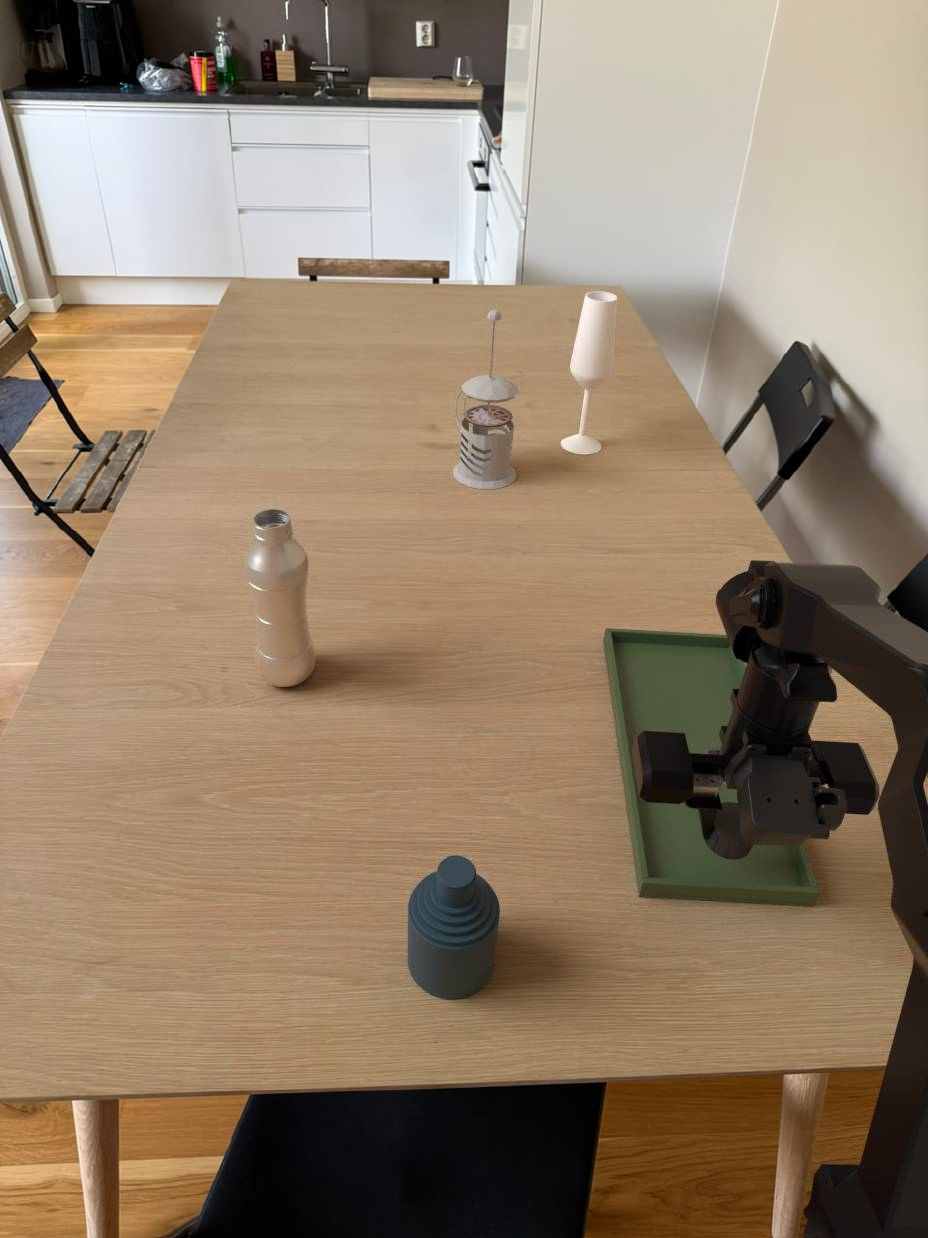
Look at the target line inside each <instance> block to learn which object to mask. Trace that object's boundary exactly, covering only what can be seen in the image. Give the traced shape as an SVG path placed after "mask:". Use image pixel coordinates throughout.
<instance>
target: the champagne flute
mask: <svg viewBox="0 0 928 1238" xmlns="http://www.w3.org/2000/svg"><path fill="white" fill-rule="evenodd" d="M582 304H583V305H582V307H581V313H580V318H579V322H578V326H577V331H576V336H575V340H574V345H573V348H572V349H573V350H572V354H571V359H570V364H569V371H570V374H571V375H572V378H573V379H574V381H576V382H577V383H578V384H579V386H580V387H581V388H583V389H584V392H583V393H584V395H583V401H582V408H581V415H580V422H579V423H580V424H579V429H578V430H579V431H578V433H576V434H572V435H569V436H567V437H565V438H563V439H562V440H561V441H560V445H561V447H562V449H563V450H565V451H567V452H569V453H572V454H575V455H582V456H583V455H584V456H585V455H587V456H588V455H594V454H596V453H598V452H600V451H601V450H602V444H601V443H600V442H599V441H598V440H596V439H595V438H593V437H591V436H590V435H588V434H587V432H588V423H589V418H590V411H591V402H592V396H593V390H596V389H597V388H599V387H600V386H602V385H603V384H605V383H606V382H607V381H608V380H609V379H610V378H611V376H612V375H613V373H614V368H615V349H616V334H617V333H616V331H617V312H618V295H616V294H614V293H612V292H609V291H603V290H602V291H600V290H595V291H594V290H593V291H588V292H586V293H585V294H584V298H583V303H582Z"/></svg>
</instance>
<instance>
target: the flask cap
mask: <svg viewBox="0 0 928 1238" xmlns="http://www.w3.org/2000/svg"><path fill="white" fill-rule="evenodd" d="M721 805H722V810H717V812H716V816H715V821H714V825H713V830H712V833H711V835H710V837H709V839H705V842H706V844H707V846H708V847H709V848H710V850H711V851H712V852H714V853H715V854H717V855H718V856H720V857H723V858H726V859H731V860H737V859H741V858H744V857H745V856H747V855H748V854H749V852H750V850H751V848H752V847H753V845H752V844H749V843H748V842H746V841H745V840H744V839H743V837H742V835H741V832H740V818H739V809H738V803H734V802H723V803H721Z"/></svg>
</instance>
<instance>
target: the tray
mask: <svg viewBox="0 0 928 1238" xmlns="http://www.w3.org/2000/svg"><path fill="white" fill-rule="evenodd" d="M602 642H603V649H604V655H605V656H604V657H605V663H606V671H607V677H608V684H609V692H610V699H611V706H612V714H613V720H614V721H613V722H614V728H615V734H616V735H615V736H616V743H617V750H618V757H619V765H620V771H621V778H622V786H623V792H624V793H623V794H624V799H625V807H626V814H627V823H628V827H629V837H630V842H631V843H630V845H631V850H632V856H633V857H632V858H633V864H634V871H635V879H636V885H637V893H638V897H639V898H641V897H642V898H656V899H657V898H658V899H673V900H675V899H676V900H691V901H692V900H693V901H708V902H709V901H711V902H727V903H729V902H730V903H745V904H746V903H747V904H763V905H764V904H765V905H779V906H781V905H782V906H797V907H798V906H799V907H814V906H815V904H816V902H817V900H818V898H819V896H820V893H821V892H820V890H819V886H818V883H817V881H816V877H815V874H814V871H813V868H812V865H811V862H810V858H809V856H808V853H807V850H806V847H805V844H804V843H805V842H803V843H802V844H801V845H800V846H798V847H787V846H777V845H753V847H752V848H751V850H750V852H749V854H748V855H747V856H745V857H744V858H741V859H737V860H731V859H726V858H723V857H720V856H718V855H717V854H715V853H714V852H712V851H711V850H710V848H709V847H708V846H707V844H706V842H705V839H703V835H702V830H701V824H700V818H699V811H698V809H692V808H689V807H687V806H686V805H685V803H684V802H682V803H680V804H667V803H649V802H646V801H644V800H643V799H642V798H640V797H639V793H638V786H637V780H636V773H635V767H634V761H633V754H632V748H633V744H634V739H635V737H636V736H637V735H638V734H639V733H640V732H641V731H657V732H675V733H685V736H686V740H687V744H688V749H689V753H698V754H707V750H709V749H713V750H720V749H721V746H722V744H721V740H720V736H719V733H720V729H721V726H728V723H729V720H730V717H731V714H732V710H733V706H732V703H731V699H730V697H731V694H732V690H733V689H739V688H740V685H741V682H742V679H743V675H744V672H745V669H746V666H747V665H746V663H745V662H743V661H741V660H740V659H736V657H735V655H734V653H733V650H732V648H731V645H730V642H729V640H728V637H727V634H718V633H716V634H715V633H701V632H700V633H699V632H681V631H680V632H679V631H665V630H664V631H663V630H646V629H630V628H628V629H627V628H611V627H605V630H604V635H603V641H602ZM737 790H738V789H727V785H726V784H722V785H721V787H720V788H719V790H718V792H719V796H720V801H721V803H723V802H734V803H738V801H737Z"/></svg>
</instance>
